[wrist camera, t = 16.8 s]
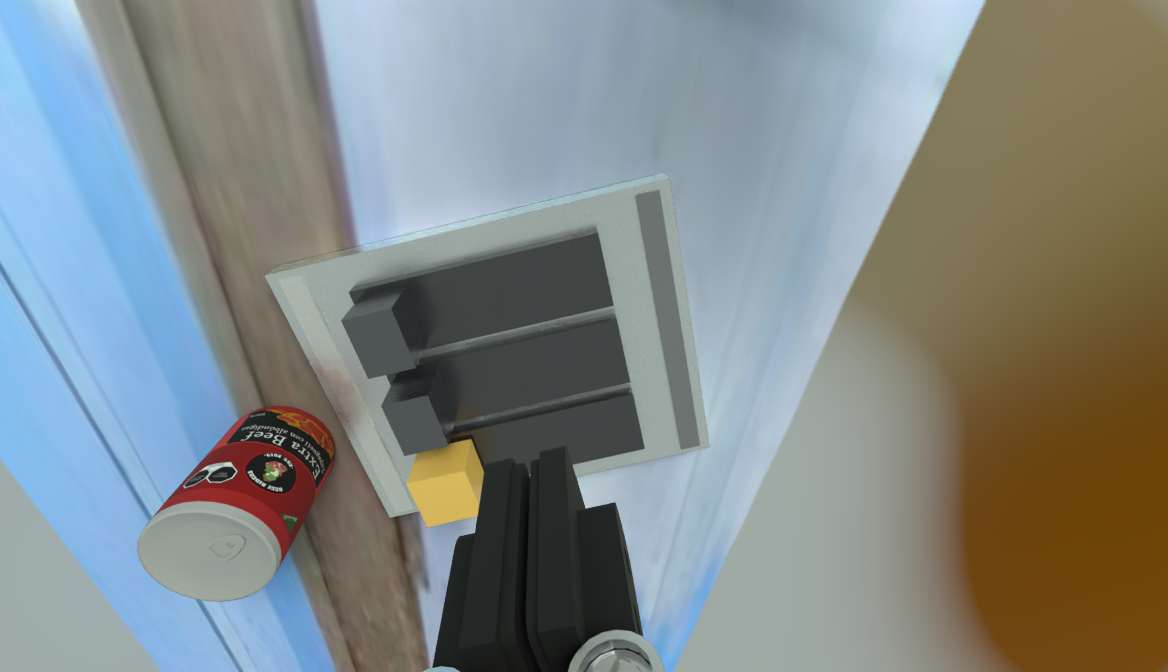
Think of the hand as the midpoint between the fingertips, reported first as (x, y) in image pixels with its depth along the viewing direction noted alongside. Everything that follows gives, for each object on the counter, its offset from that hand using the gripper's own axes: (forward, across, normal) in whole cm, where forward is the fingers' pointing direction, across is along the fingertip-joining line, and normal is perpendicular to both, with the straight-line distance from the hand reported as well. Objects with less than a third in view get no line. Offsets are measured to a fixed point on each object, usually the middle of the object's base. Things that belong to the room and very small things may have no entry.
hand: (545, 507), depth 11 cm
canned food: (+27, +24, +13) cm, 39 cm away
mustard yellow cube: (+24, +11, +16) cm, 31 cm away
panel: (+27, +5, +10) cm, 29 cm away
